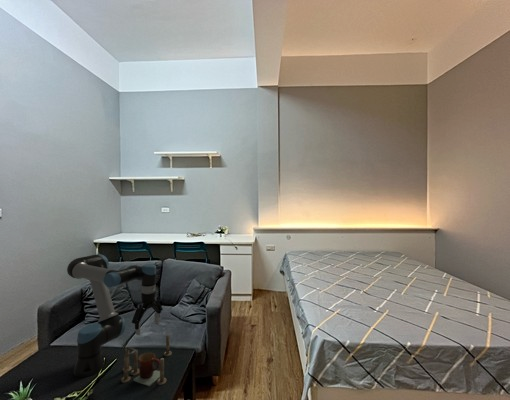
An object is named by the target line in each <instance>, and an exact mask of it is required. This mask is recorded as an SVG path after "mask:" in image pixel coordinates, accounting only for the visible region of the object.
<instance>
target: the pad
mask: <svg viewBox="0 0 510 400" xmlns="http://www.w3.org/2000/svg"><path fill="white" fill-rule="evenodd" d="M158 379H160V370H158V369H157V370H155V371H154V373H153V375H152V376H151V377H150V378H147V379H142V378H141V377H140V375H139V374H138V375H137V376H136V377H135V378H133V381H134V382H135V383H138V384H141V385H144V386H147V387H151V386H152V385H154V383H155V382H157V381H158Z"/></svg>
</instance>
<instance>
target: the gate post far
mask: <svg viewBox="0 0 510 400" xmlns="http://www.w3.org/2000/svg"><path fill="white" fill-rule="evenodd" d="M170 336H171V335H170V334H169V333H168V334H166V335H165V338H166V339H165V340H166V342H165V352H164V353H163V356H164V357H170V356H172V354H173V352H172V351H171V350H170V342H171V341H170Z"/></svg>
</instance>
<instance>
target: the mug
mask: <svg viewBox="0 0 510 400" xmlns="http://www.w3.org/2000/svg"><path fill="white" fill-rule="evenodd" d="M155 362H156V363H157V366H156V367H155ZM138 363H139V364H138V365H139V368H138V369H139V374H138V376H139V375H140V377H141V378H142V379H147V378H150V377H151V376H152V375H153V373H154V371H155V370H157V371H158V369H160V359H159V358H156V354H155V353H154V352H151V351H150V352H144V353H141V354H139V356H138Z"/></svg>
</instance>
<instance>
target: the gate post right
mask: <svg viewBox="0 0 510 400" xmlns="http://www.w3.org/2000/svg"><path fill="white" fill-rule="evenodd" d="M159 361H160V366H159V371H160V378H159V379H157V380H156V384H157V385H159V386H163V385H165V384H166V383H167V382H168V381H167V377H165V358H163V357H162V358H160V359H159Z"/></svg>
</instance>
